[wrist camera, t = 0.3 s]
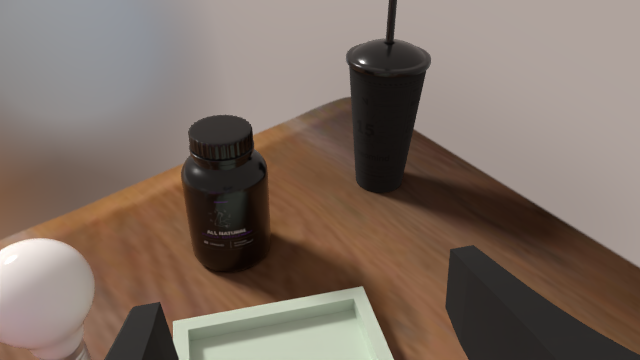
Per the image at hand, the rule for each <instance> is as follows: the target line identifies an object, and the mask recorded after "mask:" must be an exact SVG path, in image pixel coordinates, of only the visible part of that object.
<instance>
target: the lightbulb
mask: <svg viewBox="0 0 640 360" xmlns="http://www.w3.org/2000/svg"><path fill="white" fill-rule="evenodd" d="M94 294H95V281H94V276H93V272H92V270H91V267H90V265H89V264H88V262H87V261H86V259H85V258H84V257H83V256H82V255H81V254H80V253H79V252H78V251H77V250H76V249H74V248H73V247H71V246H69V245H68V244H65V243H63V242H60V241H57V240H53V239H45V238H35V239H27V240H23V241H19V242H16V243H14V244H11V245H9V246H7V247H5V248H4V249H2V250H0V342H1V343H4V344H6V345H9V346H13V347H17V348H23V349H28V350H29V351H30V352H31V353H32V354H33V355H34V356H36V357H37V358H39V359H41V360H91V356H90V354H89V352H88V349H87V346H86V344H85V341H84V339H83V336H84V320H85V318H86V317H87V315H88V313H89V311H90V309H91V306H92V303H93V299H94Z"/></svg>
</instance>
